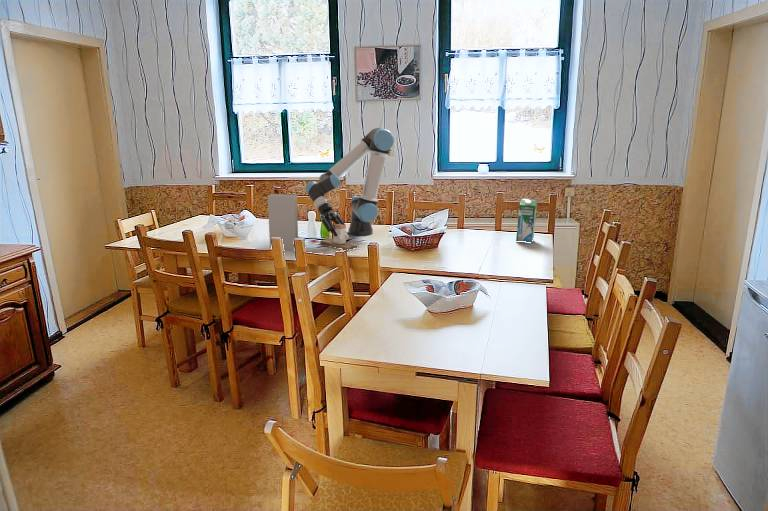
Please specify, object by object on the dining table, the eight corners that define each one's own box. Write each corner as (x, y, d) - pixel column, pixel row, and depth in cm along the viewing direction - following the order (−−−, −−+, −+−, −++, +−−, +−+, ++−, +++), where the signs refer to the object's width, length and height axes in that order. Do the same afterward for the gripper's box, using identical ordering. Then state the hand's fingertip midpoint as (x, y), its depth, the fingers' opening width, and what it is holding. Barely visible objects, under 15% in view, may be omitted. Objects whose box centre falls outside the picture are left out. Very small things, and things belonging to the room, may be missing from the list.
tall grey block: (298, 249, 279) (296, 194, 270) (295, 251, 273) (294, 196, 265) (273, 248, 280) (270, 193, 272) (270, 250, 275) (267, 195, 266)
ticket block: (330, 241, 296) (330, 238, 295) (357, 248, 282) (357, 244, 281) (320, 244, 290) (320, 240, 289) (347, 251, 276) (347, 247, 276)
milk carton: (515, 242, 302) (519, 200, 295) (518, 238, 310) (521, 198, 303) (531, 244, 299) (535, 201, 292) (533, 240, 307) (537, 199, 300)
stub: (338, 240, 288) (338, 223, 286) (345, 242, 285) (345, 225, 282) (333, 242, 285) (332, 224, 283) (340, 244, 282) (340, 226, 279)
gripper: (331, 207, 296) (351, 240, 290) (308, 212, 283) (328, 246, 278) (337, 199, 291) (358, 232, 286) (314, 204, 279) (335, 238, 273)
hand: (343, 239), depth 282 cm, fingers open, 5 cm apart
